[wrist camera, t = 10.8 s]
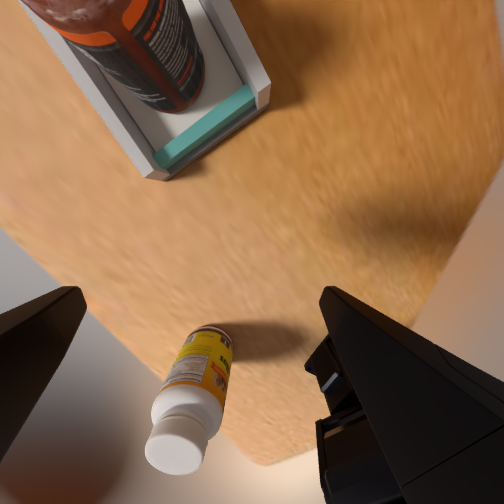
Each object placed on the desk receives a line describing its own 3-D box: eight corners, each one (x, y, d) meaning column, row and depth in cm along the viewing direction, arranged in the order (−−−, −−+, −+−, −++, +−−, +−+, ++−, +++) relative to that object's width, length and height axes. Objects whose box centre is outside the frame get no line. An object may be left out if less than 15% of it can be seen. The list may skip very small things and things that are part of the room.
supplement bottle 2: (234, 364, 23) (216, 487, 13) (188, 362, 23) (137, 481, 14) (234, 324, 22) (214, 429, 12) (185, 322, 22) (125, 423, 12)
